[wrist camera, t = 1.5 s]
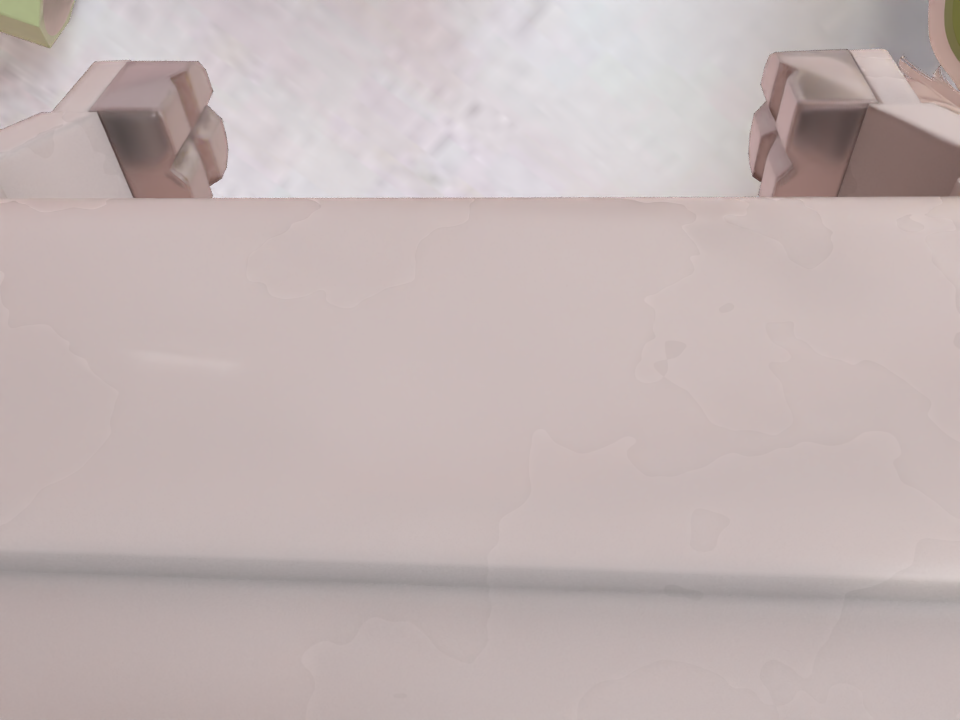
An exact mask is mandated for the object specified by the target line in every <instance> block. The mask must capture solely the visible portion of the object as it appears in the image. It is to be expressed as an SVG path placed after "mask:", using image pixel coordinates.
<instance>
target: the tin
mask: <svg viewBox="0 0 960 720" xmlns="http://www.w3.org/2000/svg"><path fill="white" fill-rule="evenodd" d="M74 2H75V0H0V32H3V33H6V34H9V35H12V36H15V37H18V38H21V39H24V40H27V41H30V42H33V43H36V44H39V45H42V46H44V47H47V48H51V47H52V45H53V44H54V43H55V41H56V40H57V38H58V37H59V35H60V34H61V32H62V31H63V30H64V28H65V27H66V25H67V24H68V22H69V20H70V17H71V13H72V9H73V6H74Z"/></svg>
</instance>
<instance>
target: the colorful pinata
mask: <svg viewBox="0 0 960 720" xmlns="http://www.w3.org/2000/svg"><path fill="white" fill-rule="evenodd" d="M928 9H929V10H928V30H929V38H930V43H931V46H932V49H933V52H934V54H935V56H936V58H937V60H938V61H939V63H940V66H942V67H943V68H944V70H945V71H946V72H947V74H948V75H949V76H950V77H951V79H952V80H953V82H954V83H955V85H956V86H957V88H958V90H959V91H960V0H929V8H928ZM903 56H904V55H902V57H901V58H900V60H899V68H900V70H901V71H903V73H904V75H903V76H904V77H905V78H906V79H907V82H908V83H909V85H910V86H911V88H912V89H913V91H914V92H915V94H916V95H917V97H918V98H919V100H920V102H921V103H934V104H936V105H939V106H941V107H943V108H946V109H948V110H950V111H953V112H955V113H957V114H959V115H960V92H958V91H957V90H956V89H954V88H953V87H952V85H951V84H950V83H949V82H948V81H947V80H946V78H945V80H946V81H947V83H948V84H949V85H950V86H951V87H950V86H949V85H948V84H947V83H946V81H944V79H943V77H942V75H941V77H942V80H943V81H942V80H941V77H940V74H941V69H940V74H939V67H940V66H939V67H938V69H937V70H935V71H936V72H935V71H934V72H935V75H936V76H934V77H933V76H931V77H932V79H931V78H929V77H928V76H926V75H925V74H923V73H921V72H920V71H919V70H917V69H916V68H914V66H913V65H911V64H910V63H909V62H908V61H907V60H906V59H905V57H903ZM902 58H904V59H905V60H906V61H907V62H908V63H909V64H910V65H911V66H912V67H913V68H914V69H916V70H917V71H918V72H919V73H921V74H923V75H924V76H925V77H927V78H929V79H930V80H929V79H927V78H925V77H924V76H923V75H920V74H919V73H918V72H917V71H915V70H914V69H913V68H911V67H910V66H909V65H907V64H906V63H905V62H902V60H901V59H902ZM906 58H907V57H906ZM940 68H941V67H940ZM942 72H943V71H942ZM924 73H925V72H924ZM905 74H906V75H907V76H909V77H911V78H908V77H906V75H905ZM927 75H928V74H927ZM933 75H934V73H933ZM943 75H944V74H943ZM929 76H930V75H929ZM944 77H945V76H944ZM933 78H934V80H933ZM931 80H932V81H931Z"/></svg>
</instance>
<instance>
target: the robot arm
mask: <svg viewBox="0 0 960 720" xmlns="http://www.w3.org/2000/svg"><path fill="white" fill-rule="evenodd" d="M760 85H761V88H762V90H763V93H764V96H765V99H766V102H765V103H764V104H763V105H762V106H761V107H760V108H759V109H758V110H757V111H756V112H755V113H754V115H753V120H752V125H751V131H750V137H749V152H748V155H749V164H750V169H751V173H752V176H753V177H754V178H756V179H757V180H759V181H760V182H761V185H760V189H759V194H758V195H759V197H498V198H212V197H213V194H212V191H211V188H210V186H211V185H212V184H214V183H215V182H217V181H219V180H220V179H222V177H223V174H224V172H225V170H226V168H227V159H228V143H227V136H226V132H225V128H224V125H223V121H222V118H220V117H219V116H218V115H217V114H216V113H215V112H214V111H213V110H212V109H211V108H210V107H209V106H208V102H209V100H210V98H211V95H212V93H213V89H212V86H211V83H210V80H209V77H208V74H207V71H206V69H205V68H204V67H203V66H202V65H201V63H200V62H199V61H131V60H115V61H95V62H94V63H93V64H92V65H91V66H90V67H89V69H88V70H87V71H86V72H85V73H84V75H83V76H82V77H81V78H80V79H79V80H78V82H77V83H76V84H75V85H74V86H73V87H72V89H71V90H70V91H69V92H68V93H67V94H66V96H65V97H64V98H63V99H62V100H61V101H60V103H59V104H58V105H57V106H56V107H55V108H54V110H53V111H52V112H41V113H38V114H36V115H34V116H31V117H29V118H27V119H24V120H22V121H20V122H17V123H15V124H13V125H10V126H8V127H6V128H3V129H1V130H0V720H960V115H959V114H957V113H955V112H953V111H950V110H948V109H946V108H943V107H941V106H939V105H936V104H934V103H921V102H920V100H919V98H918V97H917V95H916V94H915V92H914V91H913V89H912V88H911V86H910V85H909V83H908V82H907V80H906V79H905V77H904V76H903V74H902V72H901V71H900V69H899V68H898V66H897V65H896V63H895V62H894V60H893V59H892V57H891V56H890V54H889V53H888V51H887V50H884V49H881V48H879V49H862V50H848V49H836V50H810V51H784V52H774V53H772V54H770V55H769V57H768V59H767V62H766V64H765V67H764V71H763V75H762V80H761V84H760Z"/></svg>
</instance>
